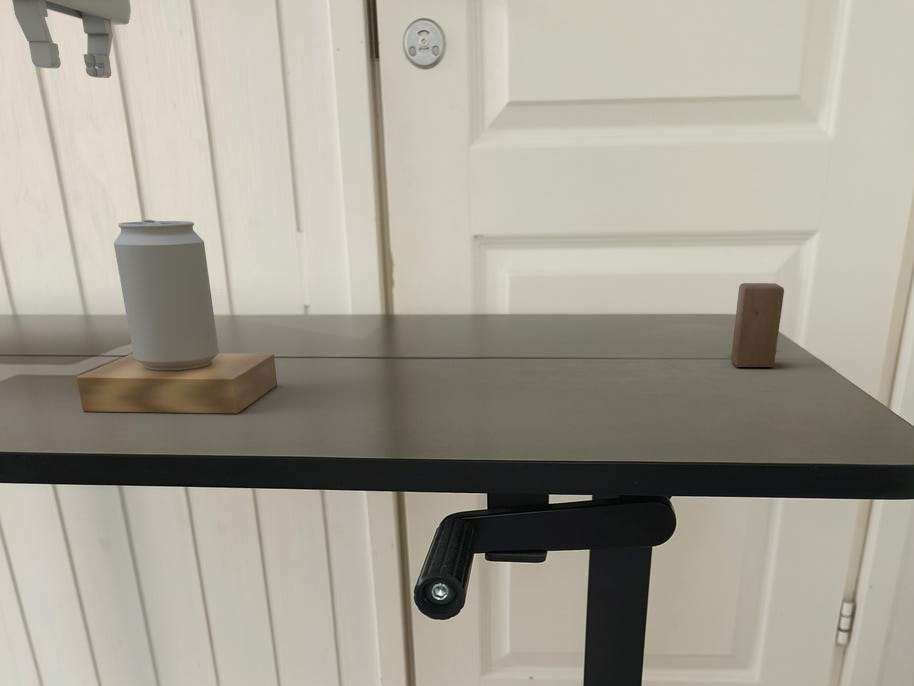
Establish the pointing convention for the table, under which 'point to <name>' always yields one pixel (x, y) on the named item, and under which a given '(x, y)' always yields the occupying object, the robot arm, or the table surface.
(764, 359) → the wooden block
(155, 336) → the can
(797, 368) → the table surface
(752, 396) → the table surface
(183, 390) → the stand
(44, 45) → the robot arm
